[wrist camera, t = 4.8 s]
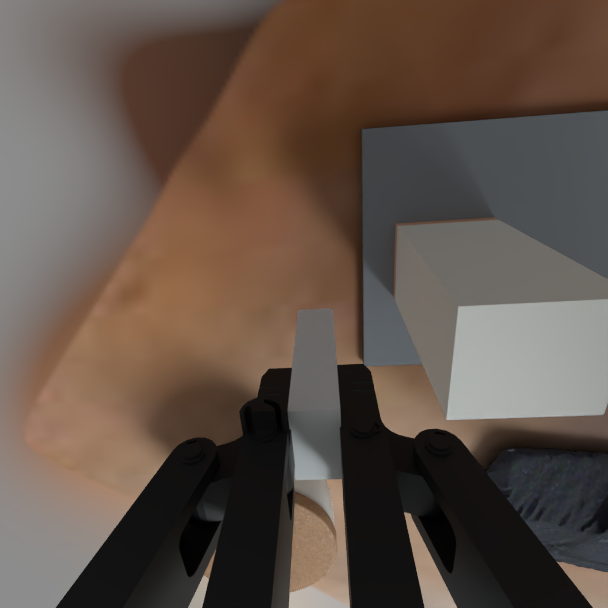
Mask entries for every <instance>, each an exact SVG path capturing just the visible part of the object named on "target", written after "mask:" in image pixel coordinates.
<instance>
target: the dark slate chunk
mask: <svg viewBox="0 0 608 608" xmlns="http://www.w3.org/2000/svg"><path fill="white" fill-rule="evenodd" d="M486 473H487V474H488V475H489V477H490V478H491V479H492V481H493V482H494V483H495V484H496V486H497V487H498V488H499V489H500V491H501V492H502V493H503V495H504V496H505V497H506V498H507V500H508V501H509V502H510V503H511V505H512V506H513V507H514V508H515V510H516V511H517V512H518V514H519V515H520V516H521V517H522V519H523V520H524V521H525V522H526V524H527V525H528V526H529V527H530V529H531V530H532V531H533V533H534V534H535V535H536V536H537V538H538V539H539V540H540V541H541V543H542V544H543V545H544V546H545V548H546V549H547V550H548V552H549V553H550V554H551V555H552V557H553V558H554V559H555V560H556V561H557V562H565V563H568V564H573V565H576V566H578V567H585V568H591V569H595V570H599V571H603V572H608V454H605V453H601V452H595V453H588V452H587V451H579V452H572V451H570V450H567V451H560V450H556V449H544V450H539V449H531V448H519V449H516V448H511V449H506V450H503V451H502V452H501V453H500V455H499V456H498V458H497V459H496V460H495V461H494V462H493V464H492V465H491V466H490V468H489V469H488V470H487V471H486Z"/></svg>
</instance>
